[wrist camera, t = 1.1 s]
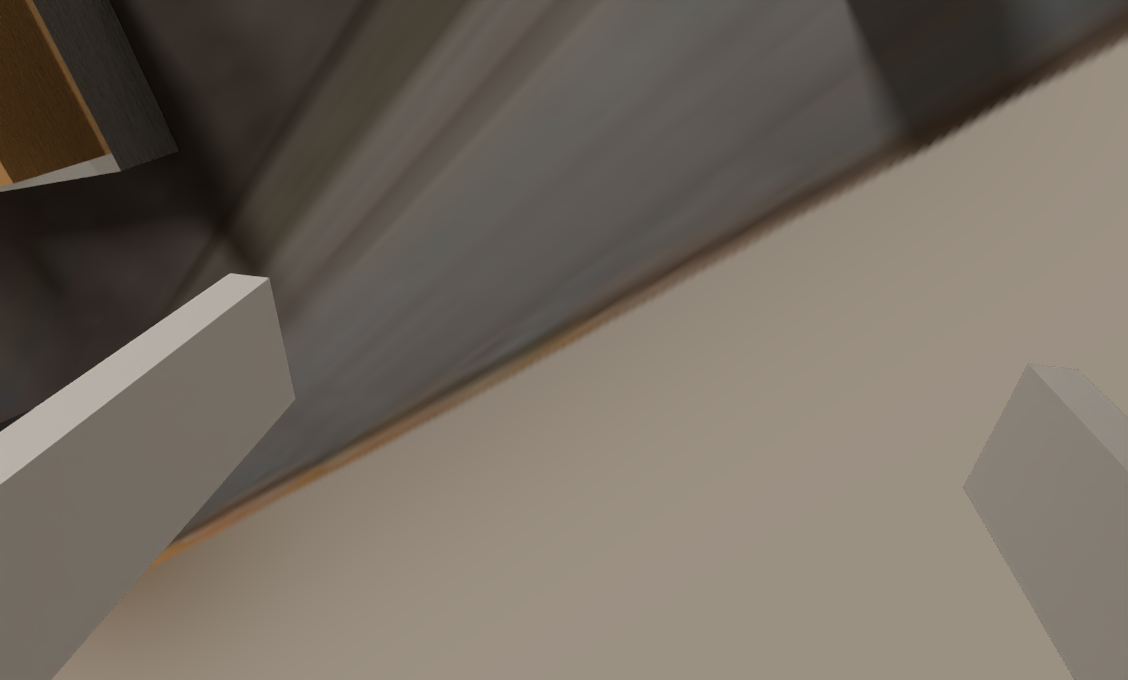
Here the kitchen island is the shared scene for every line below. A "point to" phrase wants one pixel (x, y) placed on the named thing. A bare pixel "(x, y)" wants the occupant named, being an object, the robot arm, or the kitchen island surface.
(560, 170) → the kitchen island surface
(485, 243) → the kitchen island surface
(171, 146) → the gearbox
